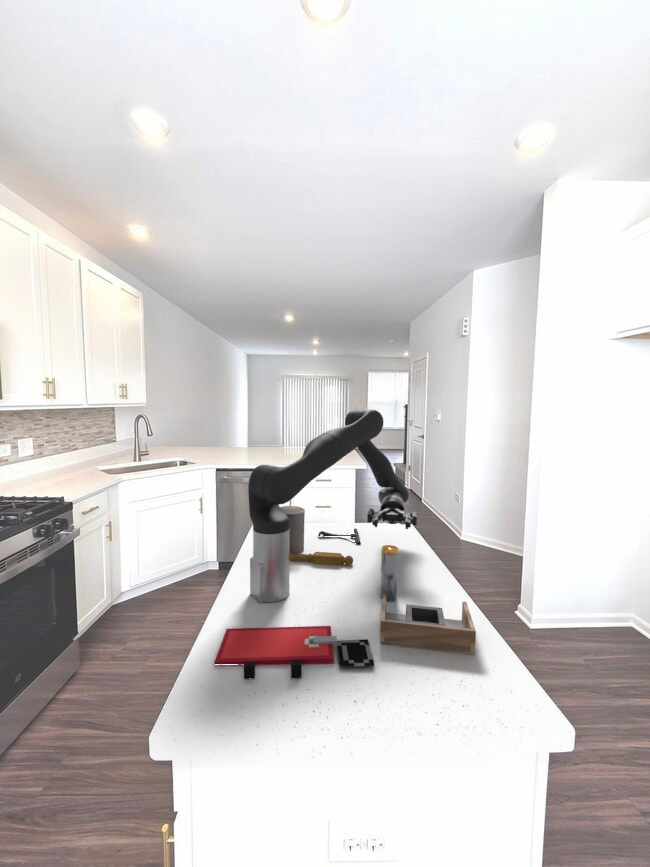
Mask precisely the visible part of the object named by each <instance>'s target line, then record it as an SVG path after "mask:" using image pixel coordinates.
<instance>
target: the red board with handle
mask: <svg viewBox="0 0 650 867" xmlns="http://www.w3.org/2000/svg"><path fill="white" fill-rule="evenodd" d="M331 626H332V625H315V626H314V625H313V626H311V625H310V626H307V625H306V626H276V627H274V626H273V627H270V626H269V627H240V628H236V627H235V628H233V627H232V628H226V629H225V632H224V635H223V638H222V640H221V643H220V645H219V649H218V651H217V654H216V656H215V659H214V664H244V665H243V679H244V678H245V679H244V680H254V679H255V678H256V666H272V665H273V666H277V665H278V666H279V665H290V672H291V673H290V678H291V679H302V674H303V673H302V672H303V671H302V670H303V668H302V666H303V665H308V664H334V663H335V656H334V655H335V654H334V649H337V655H338V664H339V668H342V667H346V668H348V667H375V666H376V665H375V660H374V657H373V654H372V649H371V646H370V642H369V639H367V638H366V639H338V638H337V637H338V636H337V635H332V627H331ZM256 664H257V665H256ZM258 664H259V665H258ZM249 678H251V679H249Z"/></svg>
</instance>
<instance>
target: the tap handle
mask: <svg viewBox="0 0 650 867" xmlns="http://www.w3.org/2000/svg"><path fill="white" fill-rule="evenodd" d="M289 562H308V563H312V564H313V565H320V566H335V567H336V566H337V567H340V566H342V565H344V564H345V565H346V566H351V565H353V563H354V558H353V557H352V556H351V555H347V556H344V555H343V554H342V553H340V552H328V551H327V552H326V551H325V552H324V551H316V552H314V553H309V554H308V553H307V554H306V553H290V555H289Z"/></svg>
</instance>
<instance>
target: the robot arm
mask: <svg viewBox="0 0 650 867" xmlns="http://www.w3.org/2000/svg"><path fill="white" fill-rule="evenodd" d="M383 427H384V417H383V415H382V413H380V412H379V411H378V410H376V409H373V408H364V409H353V410H351V411H349V412H347V414H346V416H345V418H344V426H341V427H337V428H333V429H330V430H328V431H325V432H323V433H321V434H320V435H317V436H316V437H314V438H313V439H311V440H310V441H309V442H308V443H307V445H306V446H305V448H304V451H303V453H302V456H301V457H300V458H299V459H297V460H296V461H294V462H293V463H291V464H289V465H285V466H276V465H270V464H260V465H258V466H256V467H255V468H254V469H253V470H252V471H251V473H250V476H249V478H248V485H247V486H248V493H247V494H248V508H249V510H248V512H249V517H250V520H251V523H252V536H253V537H252V546H253V547H252V557H250V559H249V573H250V574H249V578H250V579H249V582H250V583H249V586H250V587H249V589H250V591H249V593H250V595H251V596H253V598H254V599H256V600H257V602H258V603H259V604H261V603H274V602H279V601H282V600H285V599H286V598H287V597H288V596H290V585H291V584H290V561H289V555H290V521H289V517H288V516H287V515H286V514H285V513H284V512H283V511H282V510H281V508H280V507H281V506H280V505H284V504H286V503H288V502H290V501H291V500H293V499H294V498H295V497H296V496H297V495H298V494H299V493H300V492H301V491H302V490H303V489H304V488H305V487H306V486H308V485H309V483H311V482H312V481H313V480H314V479H316V478H317V477H318V476H320V475H321V474H322V473H324V472H325V471H326V470H328V469H329V468H331V467H333V466H334V465H335V464H336V463H338V462H339V461H341V460H342V459H343V458H344V457H345V456H347V455H348V454H350V453H352V452H353V451H354V450H355V449H358V450H359V452H360V453H361V455H362V456H363V457H364V459H365V461H366V463H367V464H368V466H369V468H370V470H371V473H372V475H373V477H374V480H375V481H376V483H377V485H378V486H379V487H381V488H382V489H380V490H379V492H378V500H379V502H380V509H379V510H378V511H375V510H374V508H369V510H368V512H367V514H366V515H367V516H366V517H367V519H366V522H367V523H369V524H370V523H372V526H374V528H378V527H379V526H378V524H385V523H386V524H389V525H397V524H400V525H402V526H403V525H405V526H404V527H405V530H409V528H411V527H412V526H411V525H413V526H417V524H418V522H417V521H418V515H417V513H416V511H415V510H411V511H410V512H409V513H407V512H406V510H405V509H406V508H405V503H406V502H408V500H409V496H410V495H409V491H408V488H407V487H406V486H405V485H404V484H403V482H401V480H400V479H399V478H398V477H397V475H396V472H395V470H394V467H393V465H392V463H391V461H390V459H389V458H388V457H387V456H386V455H385V454H384V453H383V451H381V450H380V449H379V448H378V447H377V446H376V445H375V444H374V443H373V442H372V439H374V438H376V437H378V435H380V434H381V432H382V430H383Z"/></svg>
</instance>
